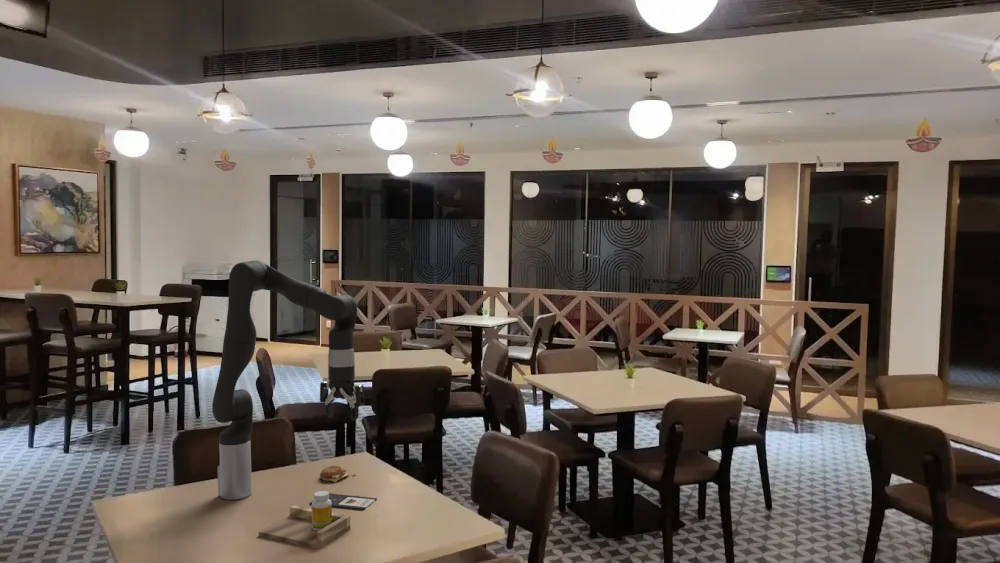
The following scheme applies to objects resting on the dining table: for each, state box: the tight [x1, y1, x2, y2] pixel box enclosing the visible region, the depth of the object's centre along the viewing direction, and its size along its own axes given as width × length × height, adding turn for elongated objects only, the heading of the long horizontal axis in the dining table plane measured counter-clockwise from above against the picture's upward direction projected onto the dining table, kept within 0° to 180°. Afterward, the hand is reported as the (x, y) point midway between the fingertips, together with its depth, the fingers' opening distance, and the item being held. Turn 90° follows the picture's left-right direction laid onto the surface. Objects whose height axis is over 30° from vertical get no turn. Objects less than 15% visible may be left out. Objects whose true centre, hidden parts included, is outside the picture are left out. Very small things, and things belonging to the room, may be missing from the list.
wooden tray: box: [258, 505, 351, 550], centre depth 193 cm, size 20×14×4 cm
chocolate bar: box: [309, 492, 378, 511], centre depth 216 cm, size 9×1×18 cm
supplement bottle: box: [311, 490, 333, 531], centre depth 193 cm, size 5×5×10 cm
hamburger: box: [318, 465, 357, 483], centre depth 238 cm, size 14×14×6 cm
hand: (342, 418), depth 206 cm, fingers open, 8 cm apart
